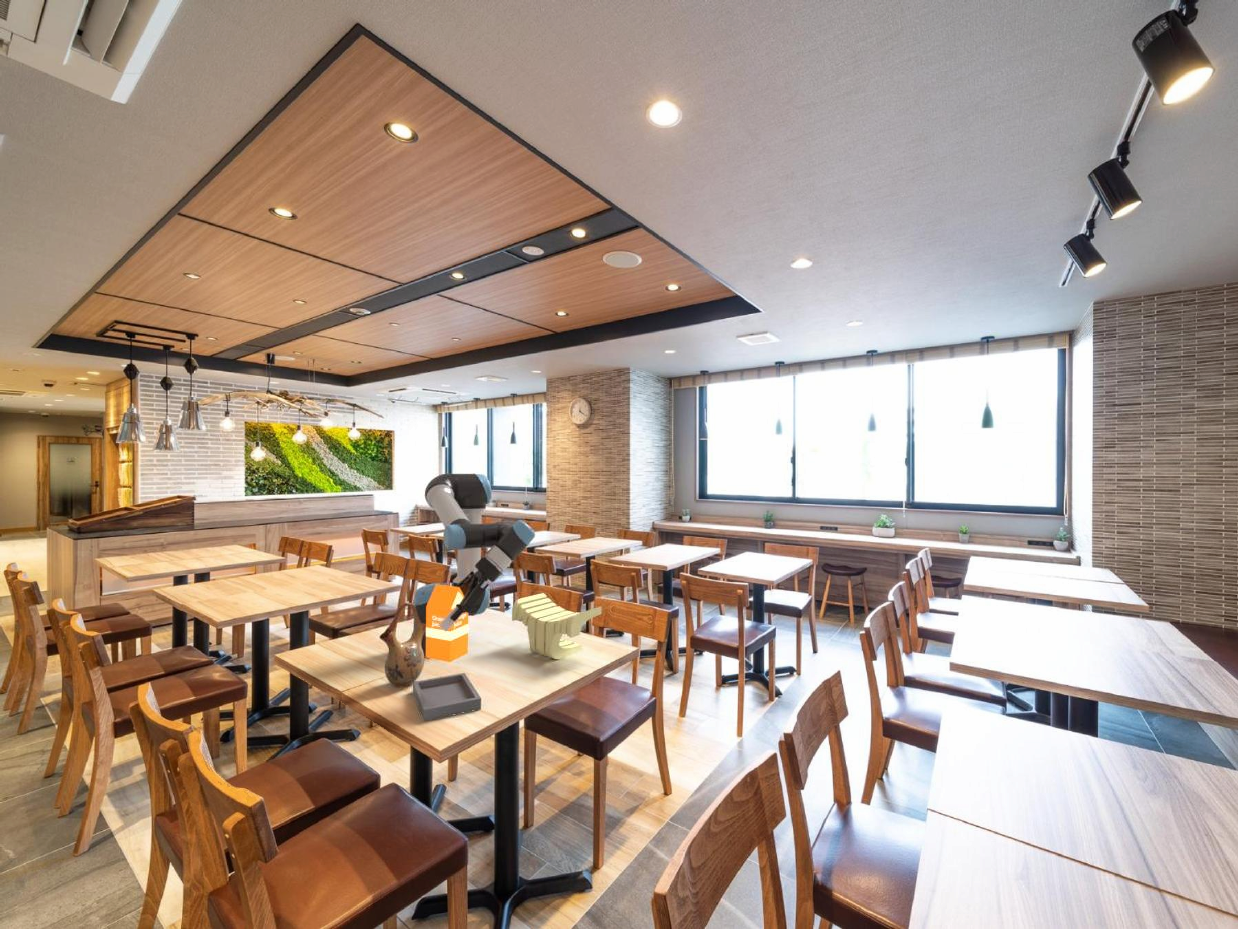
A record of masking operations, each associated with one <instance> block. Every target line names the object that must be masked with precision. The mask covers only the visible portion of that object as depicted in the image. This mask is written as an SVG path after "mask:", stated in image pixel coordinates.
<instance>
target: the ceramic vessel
mask: <svg viewBox="0 0 1238 929" xmlns="http://www.w3.org/2000/svg"><path fill="white" fill-rule="evenodd" d="M407 607H410V608H411V610H412V614H413V622H414V621H415V629H414V628H413V629H414V633H413V632H412V633H413V635H412V634H411V636H412V637H411V636H410V638H409V639H407V640H406V641H404V642H399V641H398V639H397V637H396V634H397V633H396V632H397V626H398V621H399V618H400V616H401V612H402V610H403V609H404V608H407ZM425 632H426V624H423V623H421V621H420V619H419V617H418V614H417V611H416V609H415V606H414V603H411V602H404V603H402V604H401V605H399V607H398V608H397V610H396V613H395V615H394V617H393V618H392V621H391V622H390V624H389V625H388V627H387V628H386V629H385V631H383V633H381V634H380V635H379V639H380V640H381V641H383V642H384V643H385V644H386V646H387V648H388V654H387V656H386V659H385V662H384V673H385V677H386V679H387V681H388V682H389V683H390V684H391V685H392V686H393V687H397V688H404V687H407V686H411V685H413V682H416V680H417V679H418V678H419V677H420V675H421V674H422V672H423V670H424V666H425V657H424V652H423V650H422V647H421V641H422V637H423V635H424V633H425Z"/></svg>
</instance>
